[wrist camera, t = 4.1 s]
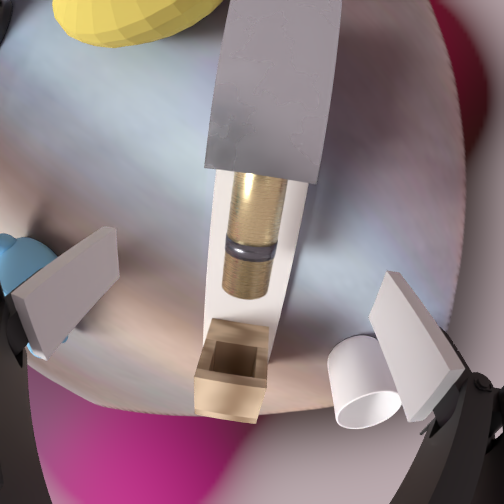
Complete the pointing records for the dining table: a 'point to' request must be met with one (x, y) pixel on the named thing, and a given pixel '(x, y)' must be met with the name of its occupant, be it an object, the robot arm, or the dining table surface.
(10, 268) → the teapot
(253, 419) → the socket block
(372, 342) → the cup
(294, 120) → the sleeve
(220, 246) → the base rail
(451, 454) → the robot arm
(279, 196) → the slip tube
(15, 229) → the dining table surface
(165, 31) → the vase
